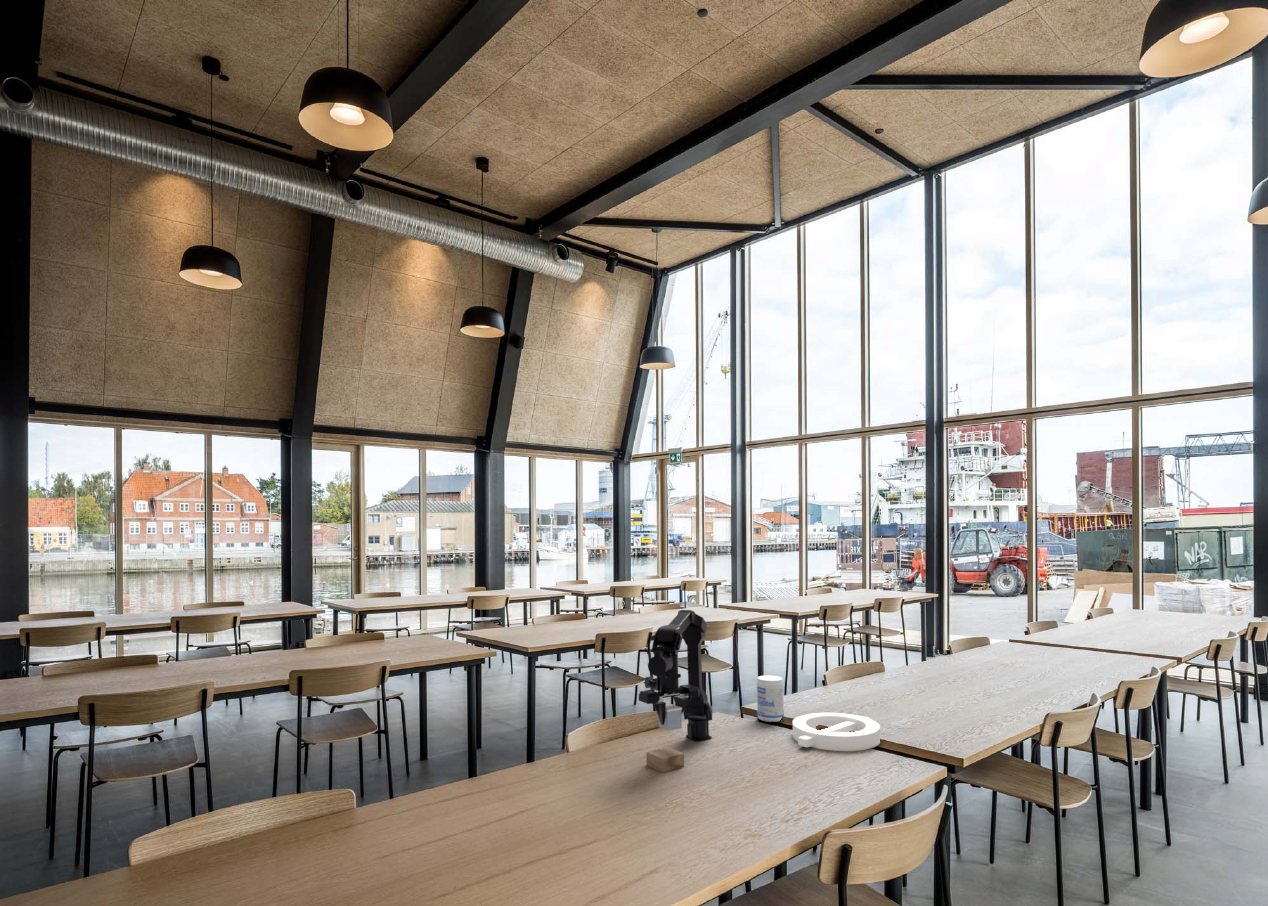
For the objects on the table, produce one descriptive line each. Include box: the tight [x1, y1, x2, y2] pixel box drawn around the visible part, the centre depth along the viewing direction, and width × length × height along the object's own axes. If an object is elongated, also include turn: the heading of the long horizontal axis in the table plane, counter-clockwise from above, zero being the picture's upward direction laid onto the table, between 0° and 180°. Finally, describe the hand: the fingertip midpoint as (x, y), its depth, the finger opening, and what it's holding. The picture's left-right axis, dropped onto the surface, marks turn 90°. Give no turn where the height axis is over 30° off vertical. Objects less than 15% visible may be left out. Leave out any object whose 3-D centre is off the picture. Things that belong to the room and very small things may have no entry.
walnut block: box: [645, 746, 685, 773], centre depth 211 cm, size 8×8×4 cm
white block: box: [658, 703, 683, 731], centre depth 213 cm, size 5×5×6 cm
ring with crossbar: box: [792, 712, 881, 752], centre depth 235 cm, size 28×28×5 cm
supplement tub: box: [756, 674, 785, 723], centre depth 259 cm, size 10×10×15 cm
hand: (669, 723), depth 213 cm, fingers closed on white block, 5 cm apart
